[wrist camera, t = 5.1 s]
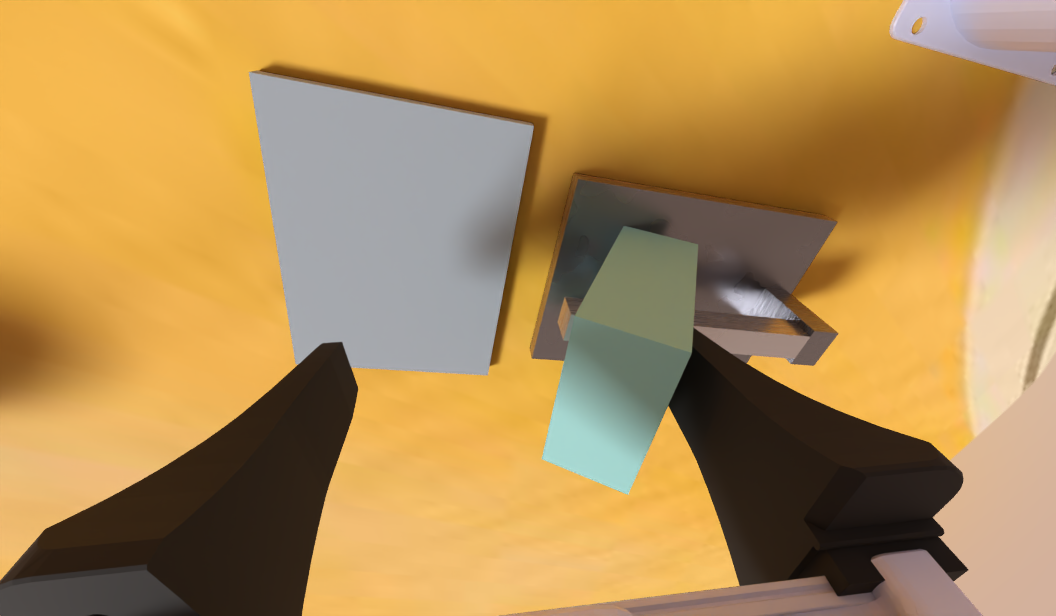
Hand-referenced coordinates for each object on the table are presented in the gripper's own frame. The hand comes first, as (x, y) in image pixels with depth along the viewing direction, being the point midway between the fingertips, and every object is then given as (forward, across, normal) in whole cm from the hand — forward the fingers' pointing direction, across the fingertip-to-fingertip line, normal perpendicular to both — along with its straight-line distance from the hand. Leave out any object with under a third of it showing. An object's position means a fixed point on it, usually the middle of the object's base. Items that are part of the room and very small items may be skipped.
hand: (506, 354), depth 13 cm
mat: (+6, +4, -1) cm, 7 cm away
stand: (+6, -8, +1) cm, 10 cm away
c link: (+4, -6, +1) cm, 8 cm away
